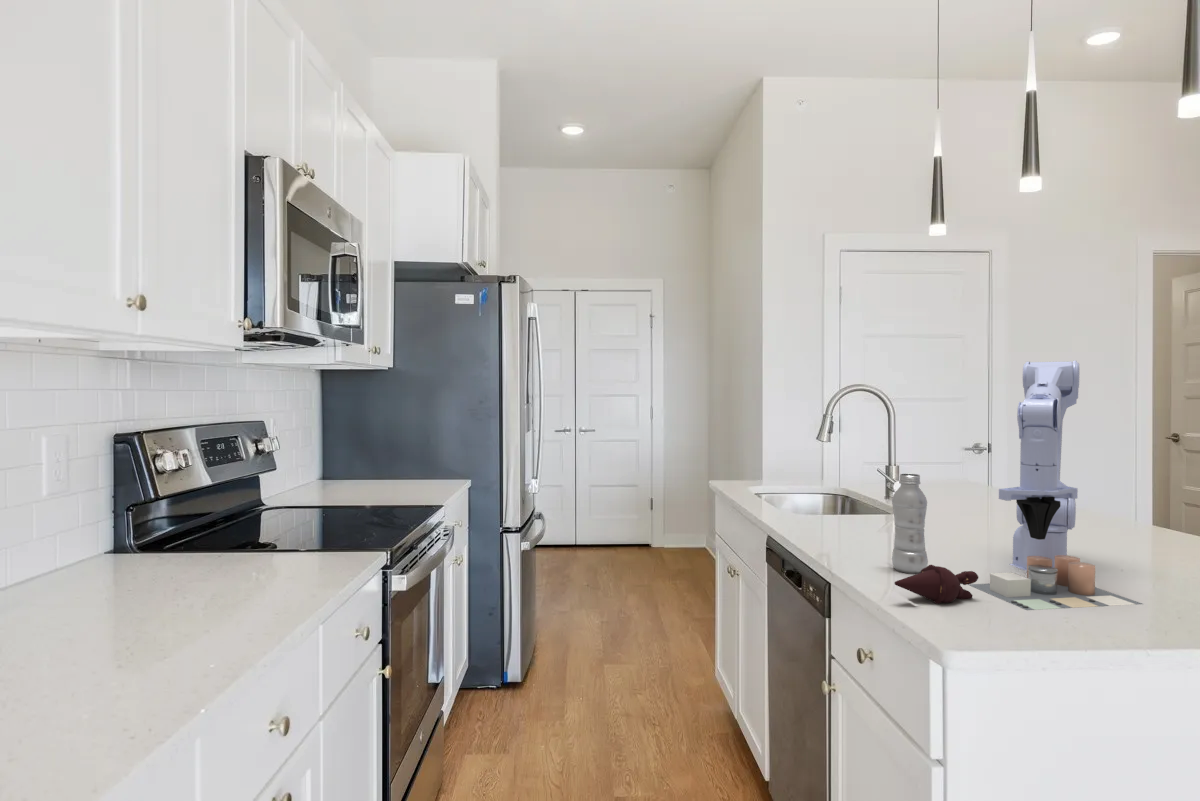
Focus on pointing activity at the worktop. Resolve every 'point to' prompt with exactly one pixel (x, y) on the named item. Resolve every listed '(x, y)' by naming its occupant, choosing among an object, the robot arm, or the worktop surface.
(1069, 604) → the board
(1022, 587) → the white block
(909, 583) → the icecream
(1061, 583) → the tan rounded block
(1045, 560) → the tan rounded block
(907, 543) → the plastic bottle
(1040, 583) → the tin
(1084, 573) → the tan rounded cylinder
